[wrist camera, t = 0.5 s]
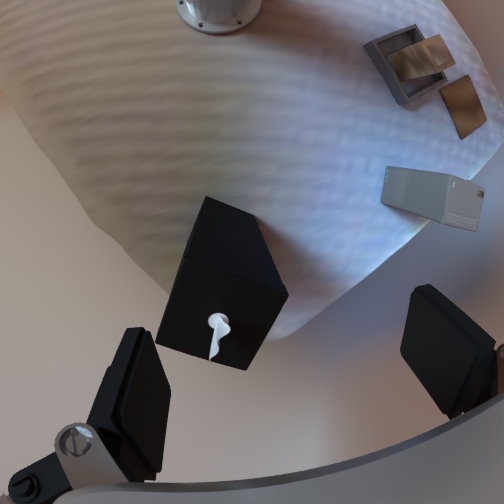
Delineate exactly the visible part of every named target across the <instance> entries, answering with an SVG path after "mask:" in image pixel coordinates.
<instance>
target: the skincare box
mask: <svg viewBox="0 0 504 504" xmlns="http://www.w3.org/2000/svg"><path fill="white" fill-rule="evenodd" d="M484 191H485V189H484V188H483V187H481V186H478V185H476V184H473V183H472V182H471V181H470V180H464V179H461V178H459V177H456V176H453V175H450V174H444V173H438V172H431V171H424V170H416V169H408V168H400V167H391V166H387V167H386V173H385V180H384V186H383V192H382V197H381V201H380V202H381V203H383V204H386V205H390V206H393V207H396V208H399V209H402V210H405V211H408V212H411V213H414V214H417V215H420V216H422V217H425V218H428V219H431V220H434V221H437V222H439V223H442V224H444V225H448V226H453V227H456V228H461V229H465V230H469V231H475V232H476V231H477V227H478V222H479V217H480V213H481V207H482V202H483V196H484Z"/></svg>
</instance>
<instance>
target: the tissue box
mask: <svg viewBox="0 0 504 504" xmlns="http://www.w3.org/2000/svg"><path fill="white" fill-rule="evenodd" d="M288 296H289V295H288V292H287V290H286V288H285V285H284V284H283V283H282V281H281V278H280V276H279V273H278V271H277V269H276V266H275V264H274V262H273V259H272V257H271V254H270V252H269V250H268V247H267V245H266V243H265V240H264V238H263V236H262V233H261V231H260V229H259V226H258V224H257V222H256V219H255V217H254V215H252V214H249V213H247V212H245V211H242V210H240V209H237V208H235V207H232V206H230V205H227V204H225V203H222V202H220V201H217V200H215V199H212V198H210V197H207V196H206V197H205V199H204V202H203V204H202V206H201V209H200V211H199V214H198V216H197V219H196V222H195V224H194V227H193V229H192V232H191V234H190V237H189V240H188V242H187V245H186V248H185V251H184V254H183V257H182V260H181V263H180V266H179V269H178V272H177V275H176V278H175V281H174V284H173V287H172V291H171V294H170V297H169V300H168V303H167V306H166V309H165V312H164V315H163V318H162V321H161V324H160V327H159V330H158V333H157V337H156V340H155V343H156V344H159V345H162V346H165V347H168V348H171V349H174V350H177V351H180V352H183V353H186V354H189V355H192V356H196V357H198V358H202V359H205V360H208V361H209V363H210V361H212V362H215V363H219V364H222V365H226V366H230V367H233V368H237V369H241V370H247V368H248V367H249V365H250V363H251V362H252V360H253V358H254V357H255V355H256V353H257V351H258V350H259V348H260V346H261V345H262V343H263V341H264V339H265V338H266V336H267V334H268V332H269V330H270V329H271V327H272V325H273V323H274V322H275V320H276V318H277V316H278V314H279V313H280V311H281V309H282V307H283V305H284V303H285V302H286V300H287V298H288Z"/></svg>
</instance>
